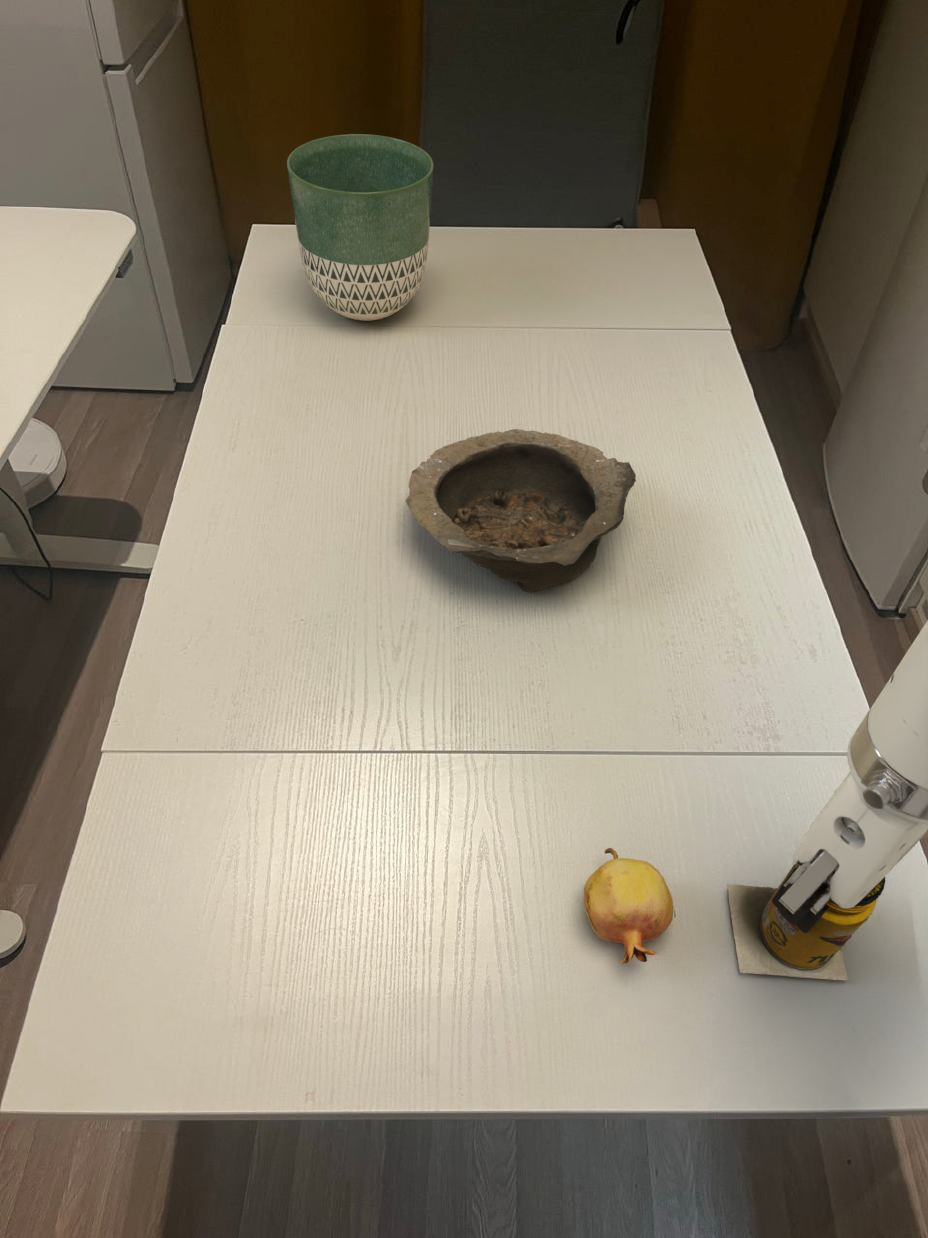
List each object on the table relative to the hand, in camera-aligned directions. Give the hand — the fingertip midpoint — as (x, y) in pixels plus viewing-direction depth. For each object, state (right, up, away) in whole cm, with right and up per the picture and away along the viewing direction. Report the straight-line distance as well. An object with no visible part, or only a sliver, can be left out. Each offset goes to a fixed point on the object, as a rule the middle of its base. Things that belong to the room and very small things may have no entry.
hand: (818, 888), depth 67 cm
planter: (-41, +67, +68) cm, 104 cm away
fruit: (-14, -4, +6) cm, 16 cm away
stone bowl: (-21, +30, +36) cm, 51 cm away
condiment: (-1, -5, +5) cm, 7 cm away
